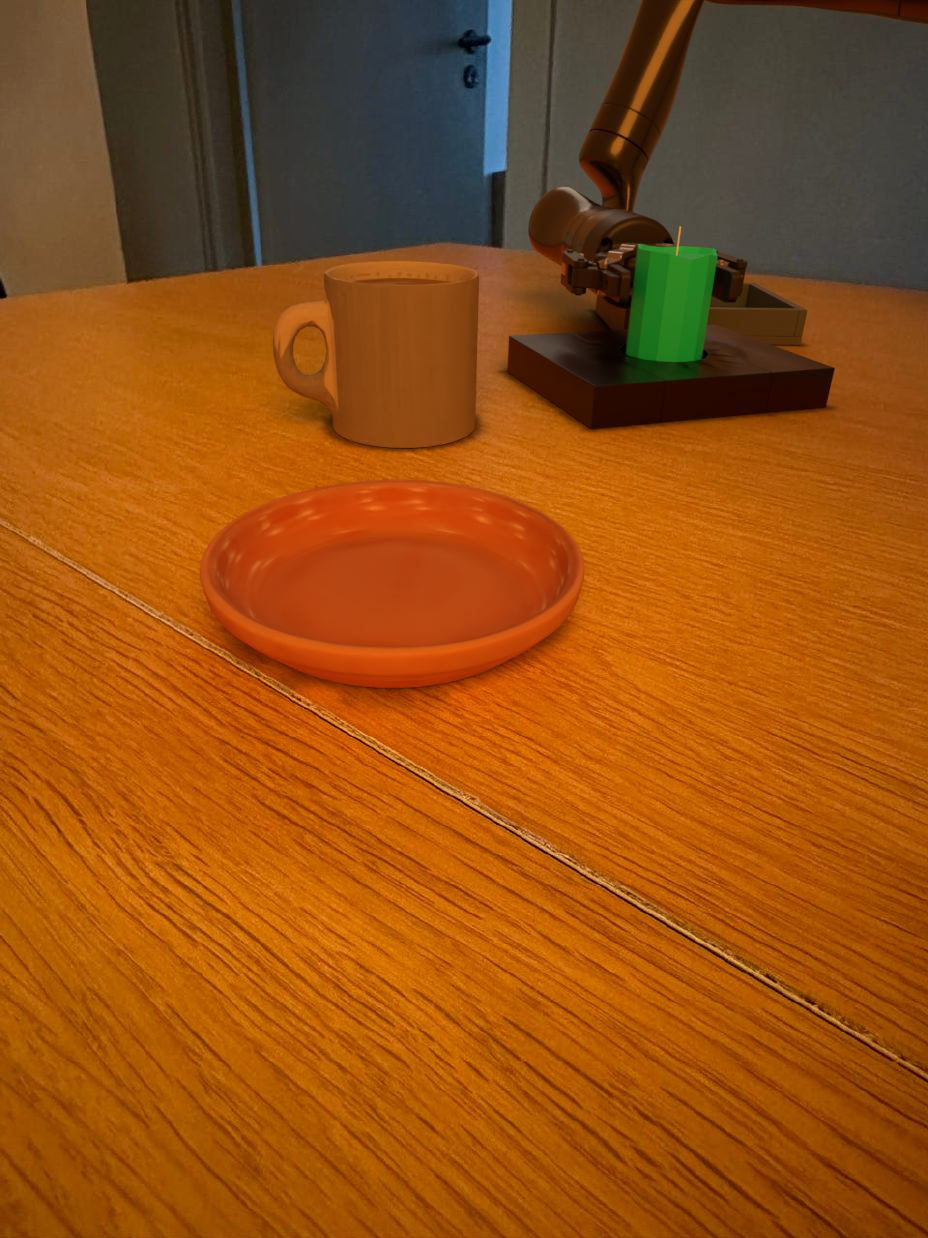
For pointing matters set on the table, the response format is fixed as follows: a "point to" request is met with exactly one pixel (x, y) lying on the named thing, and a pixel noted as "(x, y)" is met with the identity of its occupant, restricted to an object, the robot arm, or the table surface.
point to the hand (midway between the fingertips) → (680, 288)
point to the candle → (670, 302)
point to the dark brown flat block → (665, 378)
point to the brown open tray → (738, 316)
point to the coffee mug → (391, 351)
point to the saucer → (392, 581)
